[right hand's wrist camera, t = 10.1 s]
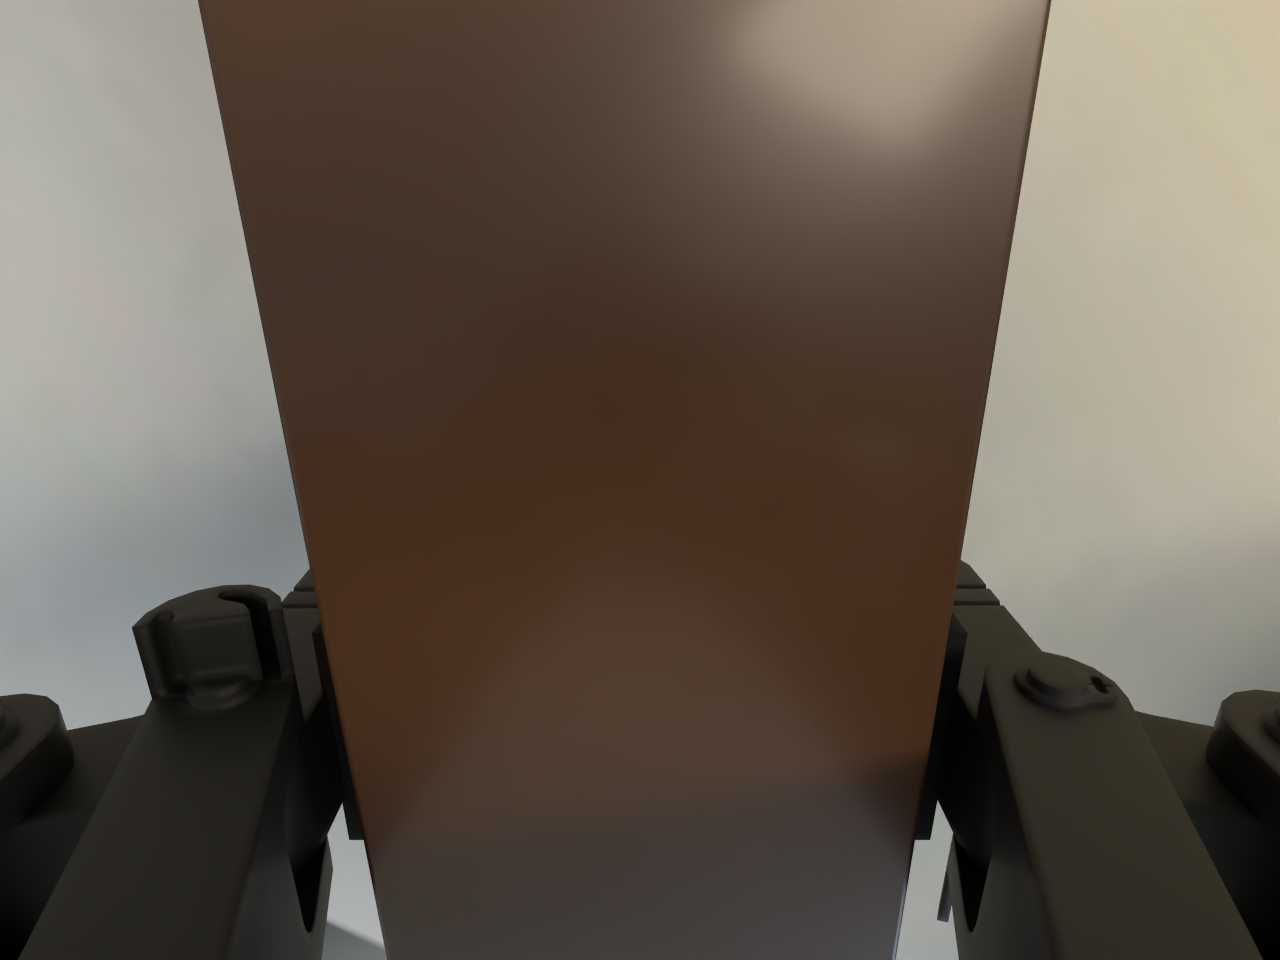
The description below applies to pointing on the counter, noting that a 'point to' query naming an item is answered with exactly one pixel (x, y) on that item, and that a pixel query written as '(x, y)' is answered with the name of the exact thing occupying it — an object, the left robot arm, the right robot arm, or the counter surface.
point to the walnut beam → (632, 439)
